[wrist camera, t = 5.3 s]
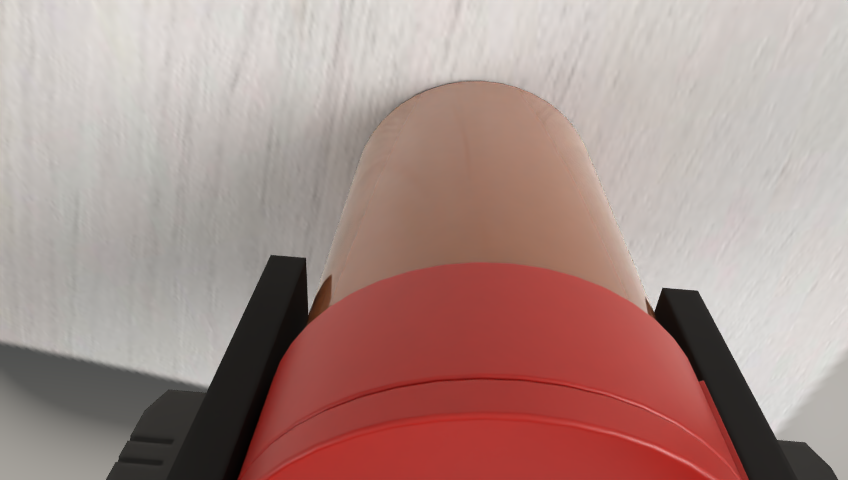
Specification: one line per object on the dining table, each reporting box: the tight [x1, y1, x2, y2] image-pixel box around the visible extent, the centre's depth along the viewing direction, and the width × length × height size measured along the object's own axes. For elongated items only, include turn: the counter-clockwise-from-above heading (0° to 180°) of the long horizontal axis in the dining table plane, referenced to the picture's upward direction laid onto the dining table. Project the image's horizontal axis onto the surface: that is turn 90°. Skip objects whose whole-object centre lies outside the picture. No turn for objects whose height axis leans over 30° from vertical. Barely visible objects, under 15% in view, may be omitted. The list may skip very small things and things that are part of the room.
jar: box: [304, 81, 658, 329], centre depth 14 cm, size 7×7×12 cm
